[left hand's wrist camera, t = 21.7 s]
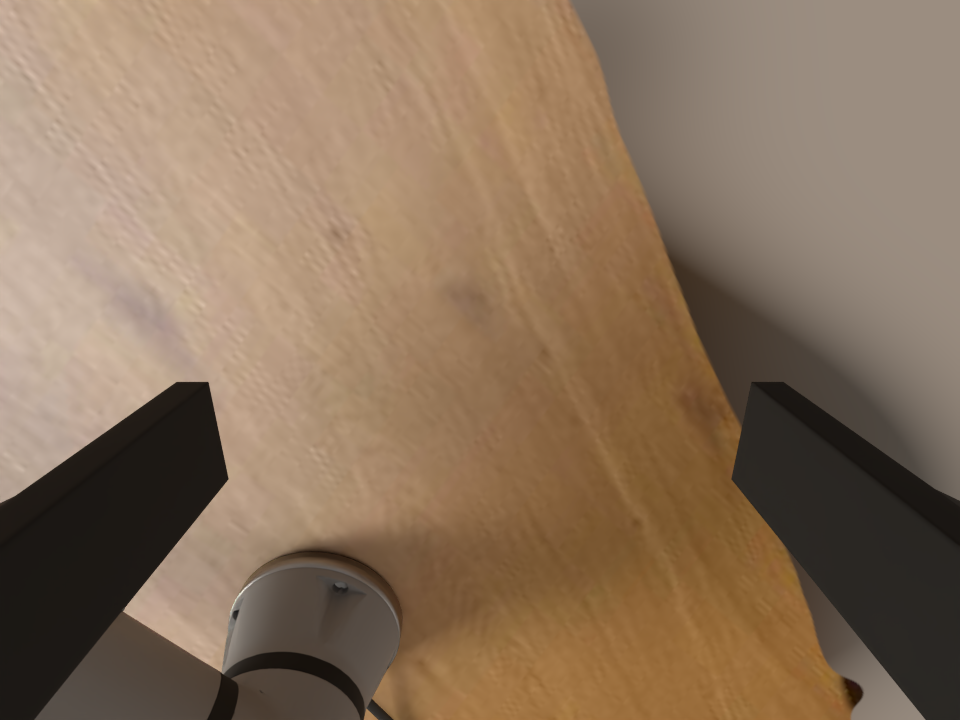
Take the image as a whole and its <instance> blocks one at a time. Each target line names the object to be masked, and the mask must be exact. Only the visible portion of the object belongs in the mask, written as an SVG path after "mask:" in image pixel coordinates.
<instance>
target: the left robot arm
mask: <svg viewBox="0 0 960 720" xmlns="http://www.w3.org/2000/svg"><path fill="white" fill-rule="evenodd" d="M227 480H228V474H227V469H226V465H225V460H224V455H223V450H222V445H221V441H220V436H219V431H218V426H217V421H216V416H215V412H214V407H213V402H212V397H211V392H210V387H209V383H208V382H176V383H175V384H173V385H172V386H170V387H169V388H168V389H166V390H165V391H163V392H162V393H161V394H159V395H158V396H156V397H155V398H153V399H152V400H151V401H149V402H148V403H146V404H145V405H144V406H142V407H141V408H139V409H138V410H136V411H135V412H134V413H132V414H131V415H129V416H128V417H127V418H125V419H124V420H122V421H121V422H119V423H118V424H117V425H115V426H114V427H112V428H111V429H110V430H108V431H107V432H105V433H104V434H102V435H101V436H100V437H98V438H97V439H95V440H94V441H93V442H91V443H90V444H88V445H87V446H85V447H84V448H83V449H81V450H80V451H78V452H77V453H76V454H74V455H73V456H71V457H70V458H69V459H67V460H66V461H64V462H63V463H61V464H60V465H59V466H57V467H56V468H54V469H53V470H52V471H50V472H49V473H47V474H46V475H44V476H43V477H42V478H40V479H39V480H37V481H36V482H35V483H33V484H32V485H30V486H29V487H27V488H26V489H25V490H23V491H22V492H20V493H19V494H18V495H16V496H14V497H12V498H10V499H8V500H6V501H4V502H2V503H0V720H364V716H365V711H366V708H367V709H368V710H369V711H370V712H371V713H372V714H373V715H374V716H375V717H376V718H377V719H378V720H393V719H392V718H391V717H390V716H389V715H388V714H387V713H386V712H385V711H384V710H383V709H382V708H381V707H379V706H378V705H377V704H376V703H375V702H374V701H373V700H372V697H373V695H374V693H375V691H376V689H377V688H378V686H379V684H380V682H381V680H382V678H383V676H384V674H385V672H386V671H387V669H388V667H389V666H390V665H391V663H392V662H393V660H394V658H395V656H396V653H397V651H398V647H399V642H400V635H401V629H402V612H401V607H400V604H399V601H398V599H397V597H396V595H395V593H394V592H393V590H392V589H391V587H390V586H389V585H388V584H387V583H386V581H385V580H384V579H383V578H381V577H380V576H379V575H378V574H377V573H376V572H374V571H373V570H371V569H370V568H368V567H367V566H365V565H363V564H361V563H359V562H357V561H355V560H352V559H350V558H347V557H344V556H340V555H336V554H330V553H322V552H302V553H295V554H290V555H286V556H282V557H280V558H277V559H274V560H272V561H270V562H268V563H266V564H265V565H263V566H262V567H260V568H259V569H258V570H256V571H255V572H254V573H253V574H252V575H251V576H250V577H249V579H248V580H247V581H246V583H245V584H244V586H243V588H242V590H241V591H240V593H239V595H238V597H237V598H236V600H235V602H234V604H233V606H232V609H231V612H230V617H229V626H228V635H227V640H226V645H225V652H224V659H223V666H222V673H221V672H219V671H218V670H216V669H215V668H213V667H211V666H210V665H208V664H206V663H204V662H203V661H201V660H200V659H198V658H196V657H195V656H193V655H191V654H190V653H188V652H187V651H185V650H183V649H182V648H180V647H179V646H177V645H175V644H174V643H172V642H171V641H169V640H167V639H166V638H164V637H163V636H161V635H159V634H158V633H156V632H155V631H153V630H151V629H150V628H148V627H147V626H145V625H143V624H142V623H140V622H139V621H137V620H135V619H134V618H132V617H131V616H129V615H127V614H126V613H124V612H123V611H124V609H125V607H126V606H127V604H128V603H129V602H130V601H131V599H132V598H133V597H134V596H135V594H136V593H137V592H138V591H139V589H140V588H141V587H142V586H143V584H144V583H145V582H146V581H147V580H148V578H149V577H150V576H151V575H152V573H153V572H154V571H155V570H156V568H157V567H158V566H159V565H160V563H161V562H162V561H163V560H164V558H165V557H166V556H167V555H168V554H169V552H170V551H171V550H172V549H173V547H174V546H175V545H176V544H177V542H178V541H179V540H180V539H181V537H182V536H183V535H184V534H185V532H186V531H187V530H188V529H189V528H190V526H191V525H192V524H193V523H194V521H195V520H196V519H197V518H198V516H199V515H200V514H201V513H202V511H203V510H204V509H205V508H206V506H207V505H208V504H209V503H210V502H211V500H212V499H213V498H214V497H215V495H216V494H217V493H218V492H219V490H220V489H221V488H222V487H223V485H224V484H225V483H226V482H227ZM732 480H733V482H734V483H735V484H736V485H737V487H738V488H739V489H740V490H741V492H742V493H743V494H744V495H745V497H746V498H747V499H748V500H749V502H750V503H751V504H752V505H753V506H754V508H755V509H756V510H757V511H758V513H759V514H760V515H761V516H762V518H763V519H764V520H765V521H766V523H767V524H768V525H769V526H770V528H771V529H772V530H773V531H774V532H775V534H776V535H777V536H778V537H779V539H780V540H781V541H782V542H783V544H784V545H785V546H786V547H787V549H788V550H789V551H790V552H791V554H792V555H793V556H794V557H795V558H796V560H797V561H798V562H799V563H800V565H801V566H802V567H803V568H804V570H805V571H806V572H807V573H808V575H809V576H810V577H811V578H812V580H813V581H814V582H815V583H816V584H817V586H818V587H819V588H820V589H821V591H822V592H823V593H824V594H825V596H826V597H827V598H828V599H829V601H830V602H831V603H832V604H833V605H834V607H835V608H836V609H837V610H838V612H839V613H840V614H841V615H842V617H843V618H844V619H845V620H846V622H847V623H848V624H849V625H850V627H851V628H852V629H853V630H854V632H855V633H856V634H857V635H858V637H859V638H860V639H861V640H862V641H863V643H864V644H865V645H866V646H867V648H868V649H869V650H870V651H871V653H872V654H873V655H874V656H875V658H876V659H877V660H878V661H879V663H880V664H881V665H882V666H883V667H884V669H885V670H886V671H887V672H888V674H889V675H890V676H891V677H892V679H893V680H894V681H895V682H896V684H897V685H898V686H899V687H900V688H901V690H902V691H903V692H904V693H905V695H906V696H907V697H908V698H909V700H910V701H911V702H912V703H913V705H914V706H915V707H916V708H917V710H918V711H919V712H920V713H921V714H922V716H923V717H924V718H925V719H926V720H960V501H959V500H957V499H955V498H952V497H950V496H948V495H946V494H944V493H942V492H940V491H938V490H936V489H934V488H933V487H931V486H930V485H928V484H927V483H925V482H924V481H923V480H921V479H920V478H918V477H917V476H916V475H914V474H913V473H911V472H910V471H908V470H907V469H906V468H904V467H903V466H901V465H900V464H899V463H897V462H896V461H894V460H893V459H891V458H890V457H889V456H887V455H886V454H884V453H883V452H882V451H880V450H879V449H877V448H876V447H875V446H873V445H872V444H870V443H869V442H867V441H866V440H865V439H863V438H862V437H860V436H859V435H858V434H856V433H855V432H853V431H852V430H850V429H849V428H848V427H846V426H845V425H843V424H842V423H841V422H839V421H838V420H836V419H835V418H833V417H832V416H831V415H829V414H828V413H826V412H825V411H824V410H822V409H821V408H819V407H818V406H816V405H815V404H814V403H812V402H811V401H809V400H808V399H807V398H805V397H804V396H802V395H801V394H799V393H798V392H797V391H795V390H794V389H792V388H791V387H790V386H788V385H787V384H785V383H784V382H752V383H751V388H750V392H749V397H748V402H747V407H746V412H745V416H744V421H743V426H742V431H741V436H740V441H739V445H738V450H737V455H736V460H735V465H734V469H733V474H732Z"/></svg>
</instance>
